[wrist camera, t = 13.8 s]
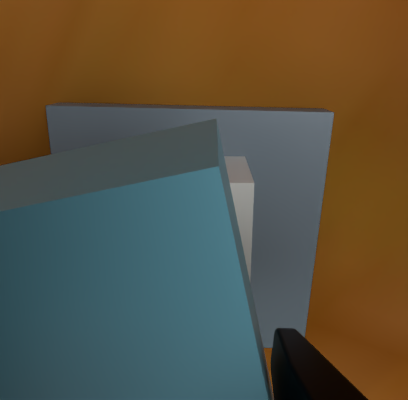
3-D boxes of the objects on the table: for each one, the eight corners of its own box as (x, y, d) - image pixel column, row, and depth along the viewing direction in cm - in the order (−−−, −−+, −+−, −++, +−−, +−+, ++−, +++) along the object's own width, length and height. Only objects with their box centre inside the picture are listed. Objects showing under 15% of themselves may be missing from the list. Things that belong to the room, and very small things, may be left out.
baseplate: (324, 108, 17) (334, 112, 16) (297, 330, 21) (303, 348, 20) (59, 102, 17) (45, 105, 16) (81, 323, 21) (72, 341, 20)
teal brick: (216, 118, 8) (218, 165, 4) (276, 410, 10) (312, 607, 7) (-10, 167, 8) (-198, 251, 4) (101, 435, 11) (41, 632, 7)
